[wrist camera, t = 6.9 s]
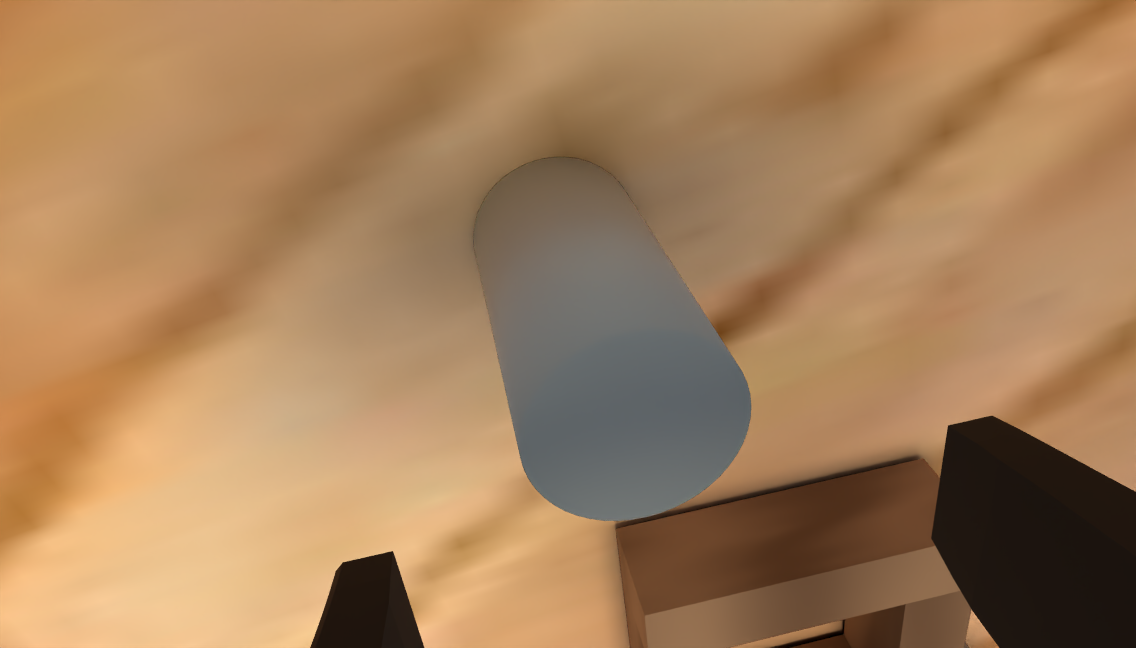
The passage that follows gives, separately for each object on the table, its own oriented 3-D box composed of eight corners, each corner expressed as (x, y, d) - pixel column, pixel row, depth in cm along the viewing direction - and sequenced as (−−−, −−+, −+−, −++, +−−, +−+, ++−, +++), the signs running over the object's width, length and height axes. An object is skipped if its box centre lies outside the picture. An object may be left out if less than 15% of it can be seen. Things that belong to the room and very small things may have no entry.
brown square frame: (923, 458, 24) (986, 533, 22) (896, 658, 29) (945, 739, 27) (615, 528, 24) (644, 615, 21) (639, 723, 28) (665, 813, 26)
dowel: (628, 143, 18) (750, 307, 12) (640, 290, 20) (751, 493, 14) (459, 174, 18) (501, 358, 12) (488, 321, 20) (536, 542, 14)
